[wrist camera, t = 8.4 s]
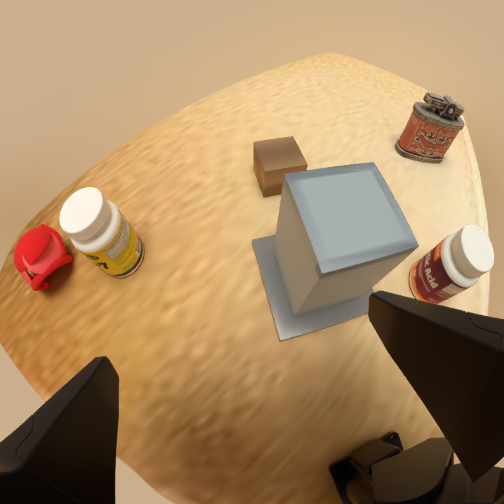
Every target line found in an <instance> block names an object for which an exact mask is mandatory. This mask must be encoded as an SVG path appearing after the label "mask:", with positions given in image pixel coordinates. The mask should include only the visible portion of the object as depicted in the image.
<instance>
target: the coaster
mask: <svg viewBox="0 0 504 504" xmlns="http://www.w3.org/2000/svg"><path fill="white" fill-rule="evenodd" d="M275 237H276V235H272V236H267V237H263V238H259V239H254V240H252V245H253V248H254V252H255V255H256V259H257V262H258V266H259V269H260V273H261V276H262V280H263V283H264V287H265V290H266V294H267V297H268V301H269V305H270V308H271V312H272V315H273V319H274V322H275V326H276V329H277V333H278V336H279V340H280V341H282V340H286V339H289V338H293V337H296V336H300V335H303V334H306V333H310V332H313V331H316V330H320V329H323V328H326V327H329V326H332V325H335V324H338V323H341V322H344V321H347V320H350V319H353V318H356V317H359V316H361V315H364V314H367V313H368V308H369V296H370V294H371V293H374V292H373V289H372V288H370V289H369V290H368V291H367V292H366V293H364V294H363V295H362V296H361V297H359V298H356V299H353V300H350V301H347V302H344V303H340V304H337V305H334V306H331V307H327V308H324V309H320V310H317V311H314V312H310V313H307V314H303V315H299V316H296V317H293V314H292V311H291V308H290V304H289V301H288V297H287V294H286V291H285V287H284V284H283V281H282V277H281V274H280V271H279V267H278V264H277V261H276V257H275V254H274V244H275Z"/></svg>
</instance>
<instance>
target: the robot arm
mask: <svg viewBox="0 0 504 504" xmlns="http://www.w3.org/2000/svg"><path fill="white" fill-rule="evenodd" d="M368 316H369V320H370V322H371V323H372V325H373V327H374V329H375V330H376V332H377V334H378V336H379V337H380V339H381V341H382V343H383V344H384V346H385V348H386V350H387V351H388V353H389V354H390V356H391V357H392V359H393V360H394V361H395V363H396V364H397V366H398V367H399V369H400V370H401V371H402V373H403V374H404V376H405V377H406V378H407V380H408V381H409V383H410V384H411V386H412V387H413V389H414V390H415V391H416V393H417V394H418V396H419V397H420V399H421V400H422V402H423V403H424V405H425V406H426V408H427V409H428V411H429V412H430V414H431V415H432V417H433V418H434V420H435V421H436V423H437V425H438V426H439V428H440V429H441V431H442V432H443V434H444V436H445V437H446V438H430V439H427V440H426V441H424V442H422V443H420V444H418V445H416V446H414V447H412V448H410V449H408V450H405V451H404V450H403V447H402V444H401V441H400V438H399V435H398V433H396V432H390V433H388V434H387V435H385V436H383V437H382V438H380V439H375V440H373V441H371V442H369V443H368V444H366V445H364V446H362V447H360V448H358V449H356V450H354V451H352V452H351V453H350V455H349V456H347V457H345V458H343V459H341V460H338V461H336V462H334V463H332V464H331V465H330V466H329V468H328V469H329V472H330V474H331V477H332V479H333V482H334V484H335V486H336V489H337V491H338V493H339V496H340V498H341V500H342V503H343V504H504V468H500V467H494V466H495V464H497V463H498V462H499V461H500V460H501V459H502V458H503V457H504V319H499V318H493V317H488V316H483V315H479V314H475V313H470V312H467V313H466V311H462V310H458V309H454V308H450V307H446V306H441V305H437V304H433V303H429V302H425V301H421V300H417V299H413V298H409V297H405V296H401V295H397V294H393V293H389V292H385V291H377V292H374V293H371V294H370V296H369V308H368ZM118 419H119V377H118V374H117V372H116V370H115V369H114V367H113V365H112V364H111V362H110V360H109V359H108V358H107V357H106V356H101V357H96V358H94V359H93V360H92V361H91V362H90V363H89V364H87V365H86V366H85V367H84V368H83V369H82V370H81V371H80V372H79V373H77V374H76V375H75V376H74V377H73V378H72V379H71V380H70V381H68V382H67V383H66V384H65V385H64V386H63V387H62V388H61V389H60V390H59V391H57V392H56V393H55V394H54V395H53V396H52V397H51V398H50V399H49V400H48V401H47V402H45V403H44V404H43V405H42V406H41V407H40V408H39V409H38V410H37V411H36V412H35V413H34V415H31V416H30V417H29V418H28V419H27V420H26V421H25V422H24V423H23V424H22V425H20V426H19V427H18V428H17V429H16V430H15V431H14V432H12V433H11V434H10V435H9V436H8V437H6V438H5V439H4V440H3V441H1V442H0V504H115V467H116V446H117V432H118ZM392 435H394V438H393V439H391V437H392ZM454 452H455V454H456V455H457V457H458V458H459V460H460V462H461V463H460V464H455V465H454ZM336 466H337V469H336V470H333V468H334V467H336Z"/></svg>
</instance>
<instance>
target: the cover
mask: <svg viewBox="0 0 504 504" xmlns="http://www.w3.org/2000/svg"><path fill="white" fill-rule="evenodd" d="M418 246H419V245H418V243H417V241H416V239H415V236H414V234H413V232H412V230H411V228H410V226H409V224H408V222H407V220H406V218H405V216H404V214H403V212H402V210H401V208H400V207H399V205H398V203H397V201H396V199H395V197H394V196H393V194H392V192H391V190H390V188H389V187H388V185H387V183H386V182H385V180H384V178H383V176H382V175H381V173H380V171H379V170H378V168H377V167H376V165H375V163H374V162H370V163H361V164H352V165H344V166H336V167H328V168H321V169H314V170H307V171H301V172H294V173H288V174H284V180H283V187H282V195H281V202H280V209H279V216H278V223H277V230H276V237H275V244H274V254H275V257H276V261H277V264H278V267H279V271H280V274H281V277H282V281H283V284H284V287H285V291H286V294H287V297H288V301H289V304H290V308H291V311H292V314H293V317H296V316H299V315H303V314H307V313H310V312H314V311H317V310H320V309H324V308H327V307H331V306H334V305H337V304H340V303H344V302H347V301H350V300H353V299H356V298H359V297H361V296H362V295H363V294H364V293H366V292H367V291H368V290H369V289H370V288H372V287H373V286H374V285H375V284H377V283H378V282H379V281H380V280H381V279H382V278H384V277H385V276H386V275H387V274H388V273H389V272H391V271H392V270H393V269H394V268H395V267H396V266H397V265H399V264H400V263H401V262H402V261H403V260H404V259H405V258H406V257H407V256H409V255H410V254H411V253H412V252H413V251H414V250H415V249H416V248H417V247H418Z"/></svg>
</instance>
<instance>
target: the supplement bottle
mask: <svg viewBox="0 0 504 504" xmlns="http://www.w3.org/2000/svg"><path fill="white" fill-rule="evenodd" d="M60 225H61V227H62V229H63V230H64V231H65V232H66V233H67V235H68V236H69V237H70V238H71V241H72V243H73V245H74V246H75V247H76V248H77V249H78V250H79V251H80V252H81V253H82V254H84V255H85V256H86V257H87V258H88V259H90V260H91V261H92V262H93V263H94V264H96V265H97V266H98V267H99V268H101V269H102V270H103V271H104V272H105V273H107V274H108V275H110V276H112V277H116V278H122V277H126V276H128V275H130V274H132V273H133V272H134V271H135V270H136V269H137V268H138V267H139V265H140V263H141V261H142V259H143V255H144V247H143V243H142V241H141V239H140V238H139V237H138V235H137V234H136V233H135V231H134V230H133V228H132V227H131V226H130V224H129V223H128V222H127V220H126V219H125V217H124V216H123V215H122V213H121V212H120V210H119V209H118V207H117V206H116V205H115V204H114V203H112V202H111V201H108V200H106V198H105V197H104V196H103V194H102V193H101V192H100V191H99V190H98V189H96V188H93V187H86V188H83V189H80V190H78V191H77V192H75V193H74V194H73V195H71V196H70V197H69V198H68V200H67V201H66V202H65V204H64V205H63V207H62V210H61V213H60Z"/></svg>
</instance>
